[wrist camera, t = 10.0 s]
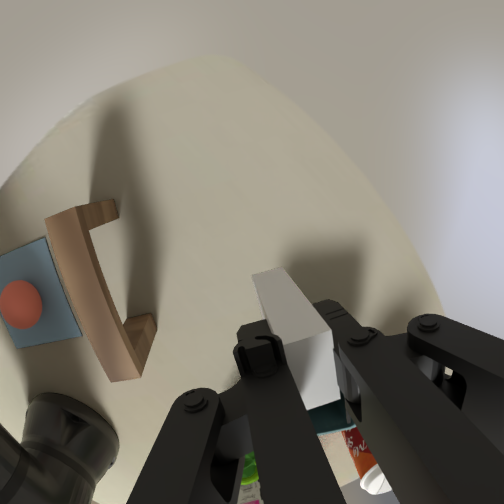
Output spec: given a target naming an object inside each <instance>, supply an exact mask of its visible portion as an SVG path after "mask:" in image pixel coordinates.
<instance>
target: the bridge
mask: <svg viewBox="0 0 504 504" xmlns="http://www.w3.org/2000/svg"><path fill="white" fill-rule="evenodd" d="M118 218H119V216H118V213H117V209H116V205H115V202H114V199H111V200H106V201H101V202H95V203H90V204H85V205H81V206H76V207H73V208H70V209H68V210H65V211H63V212H60V213H58V214H55V215H53V216H51V217H48V218H46V219H44V220H45V223H46V227H47V230H48V234H49V237H50V240H51V244H52V247H53V250H54V253H55V256H56V259H57V262H58V265H59V268H60V271H61V274H62V276H63V279H64V282H65V285H66V287H67V290H68V292H69V295H70V297H71V300H72V302H73V305H74V307H75V310H76V312H77V314H78V317H79V319H80V321H81V324H82V326H83V328H84V330H85V332H86V335H87V337H88V339H89V341H90V343H91V345H92V347H93V349H94V351H95V353H96V355H97V357H98V359H99V361H100V363H101V365H102V367H103V369H104V371H105V373H106V374H107V376H108V378H109V380H110V382H118V381H124V380H130V379H136V378H141V376H142V373H143V370H144V367H145V364H146V361H147V358H148V355H149V352H150V349H151V346H152V343H153V340H154V337H155V335H156V332H157V327H156V324H155V322H154V319H153V317H152V314H151V313H149V314H145V315H141V316H137V317H132V318H128V319H126V321H125V322H124V324H122V322H121V320H120V317H119V315H118V312H117V310H116V307H115V305H114V302H113V300H112V297H111V295H110V292H109V289H108V287H107V284H106V281H105V279H104V276H103V273H102V270H101V267H100V264H99V261H98V259H97V256H96V252H95V249H94V246H93V243H92V240H91V237H90V233H89V230H91V229H93V228H96V227H98V226H100V225H103V224H105V223H108V222H110V221H113V220H115V219H118Z"/></svg>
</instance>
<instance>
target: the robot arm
mask: <svg viewBox="0 0 504 504" xmlns="http://www.w3.org/2000/svg"><path fill="white" fill-rule="evenodd" d="M251 276H252V280H253V284H254V288H255V292H256V295H257V299H258V303H259V307H260V311H261V314H262V318H263V320H260V321H257V322H253V323H249V324H246V325H242V326H241V327H240V328H239V330H238V332H237V339H238V344H237V345H236V346H235V347H234V350H233V355H234V358H235V361H236V364H237V366H238V369H239V372H240V375H241V379H240V380H239V381H238V383H237V384H236V385H234V386H233V387H232V388H230V389H228V390H226V391H224V392H222V393H220V394H217V393H216V391H214V390H212V389H209V388H197V389H192V390H190V391H187V392H185V393H183V394H182V395H181V396H179V397H178V398H177V399H176V400H175V402H174V403H173V405H172V407H171V409H170V411H169V413H168V415H167V417H166V419H165V422H164V424H163V426H162V428H161V430H160V432H159V434H158V436H157V439H156V441H155V443H154V445H153V447H152V449H151V451H150V454H149V456H148V458H147V460H146V462H145V464H144V466H143V469H142V471H141V473H140V475H139V477H138V479H137V481H136V484H135V486H134V488H133V490H132V492H131V494H130V496H129V499H128V501H127V503H126V504H237V502H238V497H239V491H240V486H241V480H242V475H243V469H244V464H245V455H247V454H249V453H251V452H253V451H254V456H255V461H256V466H257V472H258V477H259V482H260V488H261V493H262V498H263V503H264V504H346V502H345V499H344V497H343V495H342V492H341V490H340V487H339V485H338V483H337V480H336V478H335V476H334V473H333V471H332V469H331V466H330V464H329V462H328V459H327V457H326V455H325V452H324V450H323V447H322V445H321V443H320V440H319V438H318V436H317V433H316V431H315V429H314V426H313V424H312V421H311V419H310V417H309V414H308V412H307V410H309V409H312V408H315V407H318V406H321V405H324V404H327V403H330V402H333V401H336V400H338V399H340V390H341V391H342V393H343V395H344V398H345V408H346V419H347V424H349V423H351V419H350V417H351V418H352V420H353V421H354V423H355V425H356V427H357V428H358V430H359V432H360V434H361V436H362V437H363V439H364V441H365V443H366V444H367V446H368V448H369V450H370V451H371V453H372V455H373V457H374V458H375V460H376V462H377V464H378V465H379V467H380V469H381V471H382V472H383V474H384V476H385V478H386V480H387V481H388V483H389V485H390V487H391V488H392V490H393V492H394V494H395V495H396V497H397V499H398V501H399V502H400V504H504V340H502V339H500V338H497V337H495V336H492V335H490V334H487V333H485V332H482V331H480V330H477V329H475V328H472V327H469V326H467V325H464V324H462V323H459V322H457V321H454V320H451V319H449V318H446V317H444V316H441V315H437V314H424V315H419V316H417V317H415V318H413V319H412V320H411V321H410V322H409V323H408V327H407V333H403V334H398V335H393V336H385V335H383V334H382V333H381V332H380V331H379V330H377V329H375V328H371V327H362V326H361V325H360V324H359V323H358V322H357V321H356V320H355V319H354V318H353V317H352V316H351V315H350V314H348V312H347V311H346V310H345V309H344V308H343V307H342V306H341V305H340V304H339V303H338V302H335V301H332V300H329V299H327V300H324V301H321V302H318V303H315V304H311V303H310V302H309V300H308V299H307V298H306V297H305V295H304V294H303V293H302V291H301V290H300V289H299V288H298V286H297V285H296V284H295V283H294V281H293V280H292V279H291V277H290V276H289V275H288V274H287V272H286V271H285V270H284V269H283V267H279V268H276V269H272V270H268V271H265V272H261V273H258V274H254V275H251ZM445 366H446V367H448V368H450V369H452V370H453V373H452V376H449V375H447V374H445ZM339 388H340V390H339ZM118 451H119V441H118V438H117V436H116V434H115V432H114V431H113V429H112V428H111V426H110V425H109V424H108V423H107V422H106V421H105V420H104V419H103V418H102V417H101V416H100V415H99V414H97V413H96V412H95V411H93V410H92V409H91V408H89V407H88V406H86V405H84V404H83V403H81V402H79V401H77V400H75V399H72V398H70V397H67V396H64V395H61V394H56V393H44V394H40V395H38V396H36V397H35V398H34V399H33V401H32V402H31V404H30V405H29V407H28V409H27V411H26V420H25V425H24V430H23V437H22V442H21V444H19V443H18V442H17V441H16V440H15V438H14V437H13V436H12V435H11V434H10V433H9V432H8V431H7V430H6V429H5V428H4V427H3V426H2V425H1V423H0V504H91V502H92V498H93V494H94V491H95V487H96V484H97V483H98V482H99V481H100V480H101V478H102V477H103V476H104V475H105V473H106V472H107V470H108V469H109V468H111V467H112V466H113V464H114V463H115V461H116V458H117V455H118Z"/></svg>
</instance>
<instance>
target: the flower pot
mask: <svg viewBox="0 0 504 504" xmlns="http://www.w3.org/2000/svg"><path fill="white" fill-rule="evenodd" d="M339 390H340V388H339ZM307 412H308V414H309V417H310V419H311V421H312V424H313V426H314V429H315V431H316V433H317V436H320V435H325V434H330V433H335V432H339V431H344V430H349V429H352V428H355V427H356V425H355V423H354V421H353V420H352V418H351V417H350V419H351V423H349V424H347V419H346V408H345V398H344V395H343V393H342V391H341V390H340V399H338V400H336V401H333V402H330V403H327V404H324V405H321V406H318V407H315V408H312V409H309V410H307Z"/></svg>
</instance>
